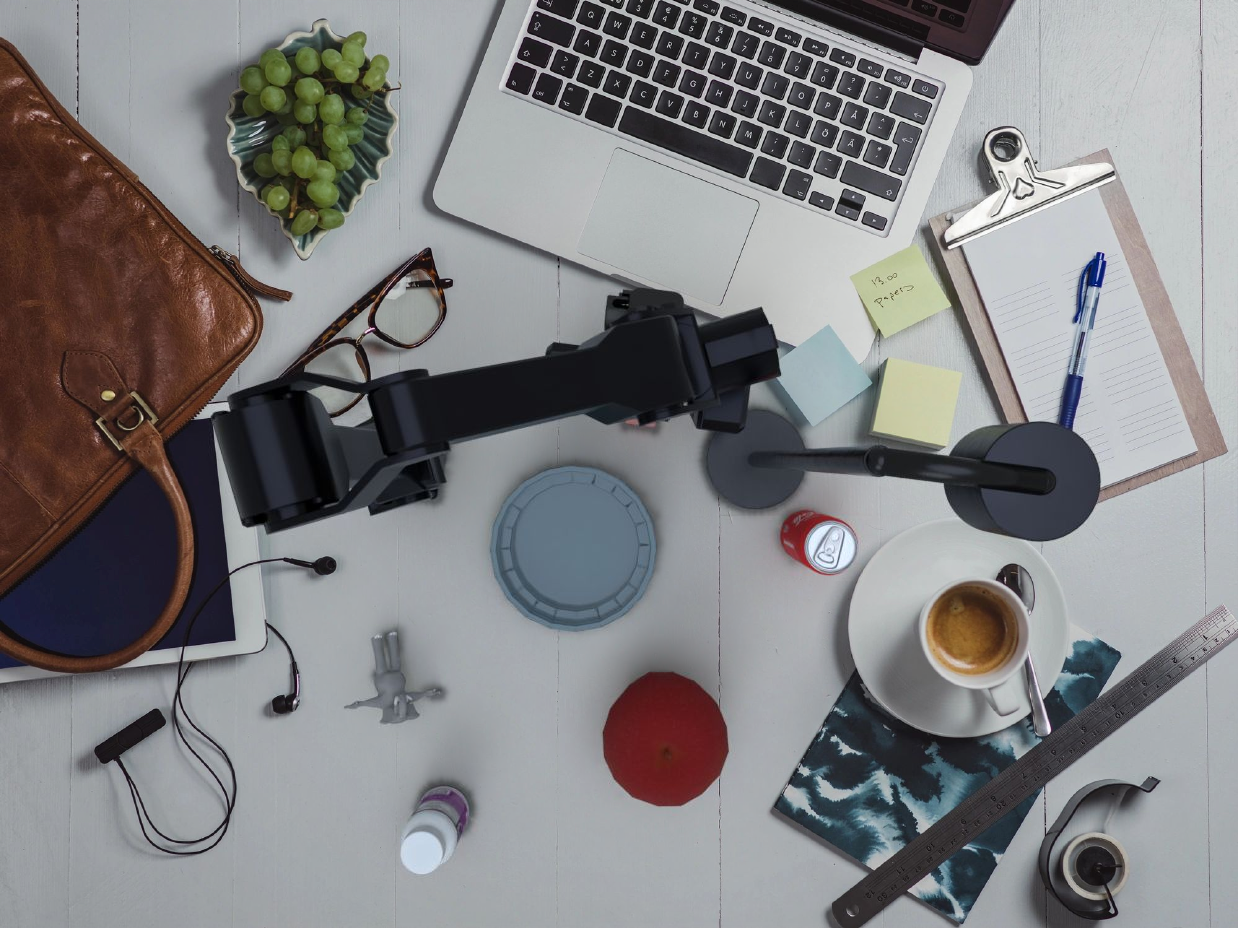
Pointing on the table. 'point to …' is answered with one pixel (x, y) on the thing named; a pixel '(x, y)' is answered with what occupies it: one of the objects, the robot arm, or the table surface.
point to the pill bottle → (434, 829)
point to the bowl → (573, 548)
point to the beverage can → (819, 542)
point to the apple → (665, 739)
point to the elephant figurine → (391, 685)
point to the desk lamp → (927, 472)
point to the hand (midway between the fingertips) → (644, 395)
